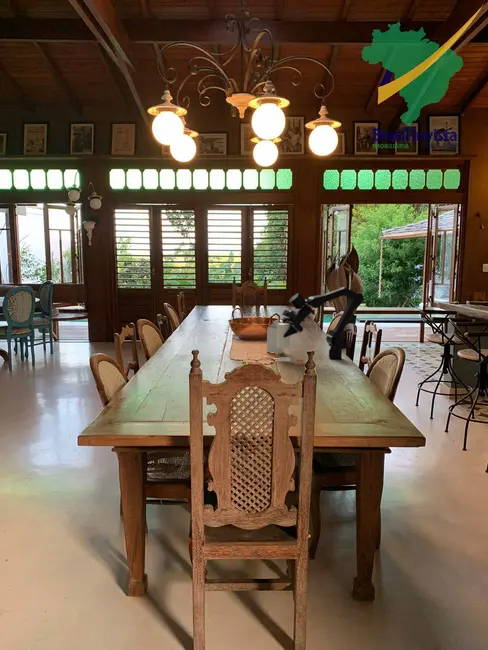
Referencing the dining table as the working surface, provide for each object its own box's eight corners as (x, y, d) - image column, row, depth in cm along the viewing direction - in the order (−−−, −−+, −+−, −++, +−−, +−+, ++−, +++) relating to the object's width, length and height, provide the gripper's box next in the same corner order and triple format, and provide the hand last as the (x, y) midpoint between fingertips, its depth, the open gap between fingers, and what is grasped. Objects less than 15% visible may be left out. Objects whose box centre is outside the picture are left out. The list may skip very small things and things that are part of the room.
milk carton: (266, 353, 280) (267, 320, 277) (271, 351, 287) (272, 319, 284) (277, 355, 277) (279, 321, 274) (282, 352, 283) (284, 320, 280)
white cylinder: (287, 345, 267) (288, 323, 266) (291, 348, 261) (292, 325, 259) (275, 346, 266) (275, 323, 264) (279, 348, 259) (280, 325, 257)
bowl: (303, 363, 258) (304, 359, 257) (304, 365, 254) (304, 361, 253) (295, 363, 258) (295, 358, 258) (295, 365, 254) (295, 360, 254)
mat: (290, 358, 270) (290, 357, 270) (290, 362, 260) (290, 361, 260) (272, 357, 271) (272, 356, 271) (271, 361, 261) (271, 360, 261)
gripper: (286, 302, 270) (266, 322, 268) (298, 306, 252) (277, 328, 251) (298, 316, 273) (279, 336, 272) (312, 321, 255) (291, 343, 254)
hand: (281, 335), depth 262 cm, fingers closed on white cylinder, 7 cm apart
